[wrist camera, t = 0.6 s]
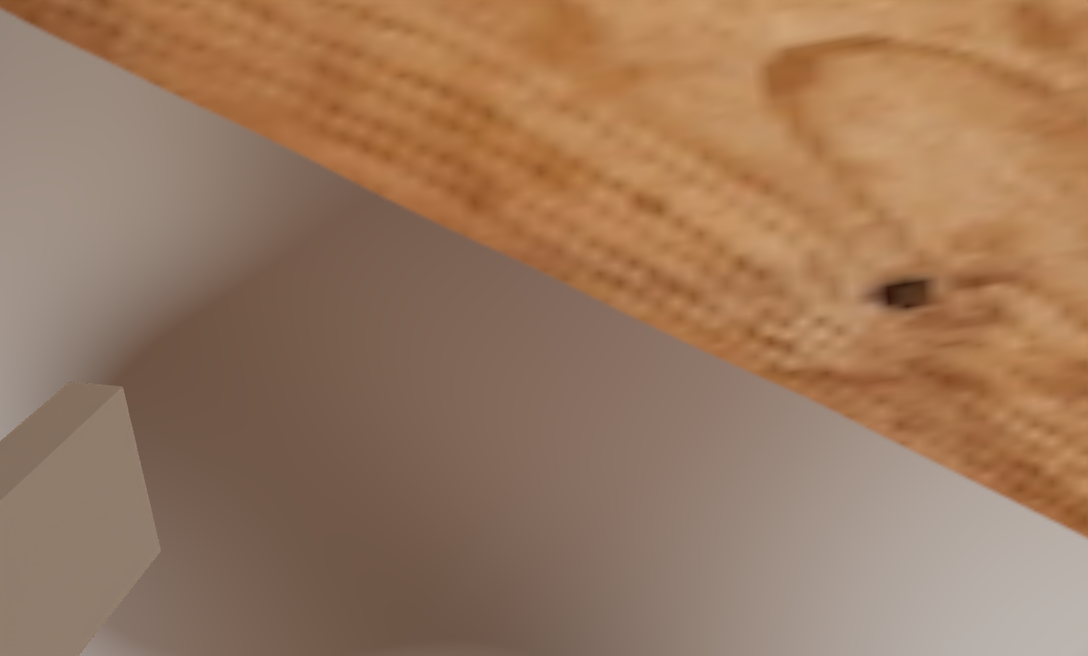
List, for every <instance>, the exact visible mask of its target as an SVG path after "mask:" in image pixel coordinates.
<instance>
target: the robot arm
mask: <svg viewBox="0 0 1088 656" xmlns="http://www.w3.org/2000/svg"><path fill="white" fill-rule="evenodd" d="M160 551H161V550H160V545H159V541H158V537H157V532H156V528H155V524H154V520H153V515H152V511H151V507H150V502H149V498H148V494H147V489H146V485H145V481H144V477H143V472H142V468H141V464H140V459H139V455H138V451H137V447H136V442H135V438H134V433H133V429H132V425H131V421H130V416H129V412H128V408H127V403H126V399H125V395H124V391H123V387H121V386H110V385H99V384H88V383H75V382H69V383H68V384H67V385H66V386H64V387H63V388H62V389H61V390H60V391H59V392H57V393H56V394H55V395H54V396H53V397H52V398H50V399H49V400H48V401H47V402H46V403H44V404H43V405H42V406H41V407H40V408H39V409H38V410H36V411H35V412H34V413H33V414H32V415H30V416H29V417H28V418H27V419H26V420H25V421H23V422H22V423H21V424H20V425H19V426H18V427H16V428H15V429H14V430H13V431H12V432H11V433H9V434H8V435H7V436H6V437H5V438H3V439H2V440H1V441H0V656H79V655H80V653H81V652H82V651H83V650H84V648H85V647H86V646H87V644H88V643H89V642H90V641H91V639H92V638H93V637H94V635H95V634H96V633H97V632H98V630H99V629H100V628H101V626H102V625H103V624H104V623H105V621H106V620H107V619H108V618H109V616H110V615H111V614H112V612H113V611H114V610H115V609H116V607H117V606H118V605H119V603H120V602H121V601H122V600H123V598H124V597H125V596H126V595H127V593H128V592H129V591H130V589H131V588H132V587H133V586H134V584H135V583H136V582H137V581H138V579H139V578H140V577H141V575H142V574H143V573H144V572H145V570H146V569H147V567H148V566H149V565H150V564H151V563H152V561H153V560H154V559H155V558H156V556H157V555H158V554H159V552H160Z"/></svg>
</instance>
